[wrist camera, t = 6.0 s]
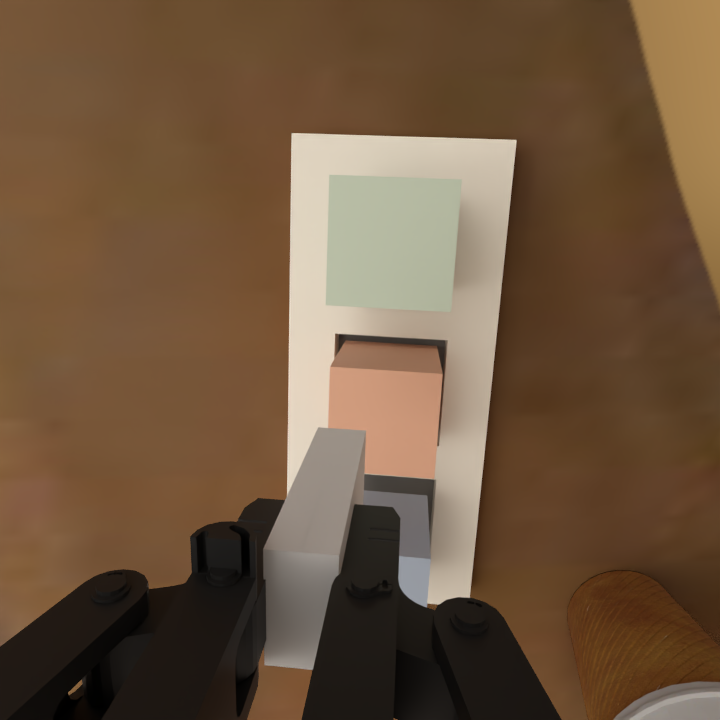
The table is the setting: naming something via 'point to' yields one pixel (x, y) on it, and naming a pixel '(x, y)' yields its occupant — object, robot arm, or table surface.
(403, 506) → the slate block
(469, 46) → the table surface
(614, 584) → the disposable coffee cup
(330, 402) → the terracotta block
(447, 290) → the sage block
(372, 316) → the board
